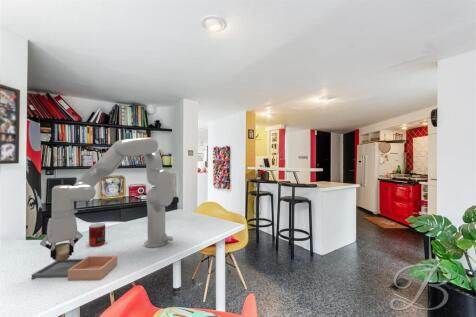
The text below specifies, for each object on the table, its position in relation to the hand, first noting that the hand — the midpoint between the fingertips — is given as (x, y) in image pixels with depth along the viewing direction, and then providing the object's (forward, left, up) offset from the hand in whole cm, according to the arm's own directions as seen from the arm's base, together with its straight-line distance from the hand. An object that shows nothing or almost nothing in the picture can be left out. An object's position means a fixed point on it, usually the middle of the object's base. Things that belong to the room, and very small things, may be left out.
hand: (62, 256), depth 97 cm
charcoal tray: (0, 0, -6) cm, 6 cm away
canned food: (+3, -30, -6) cm, 31 cm away
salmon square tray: (-15, +3, -6) cm, 17 cm away
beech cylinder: (0, 0, -1) cm, 1 cm away
